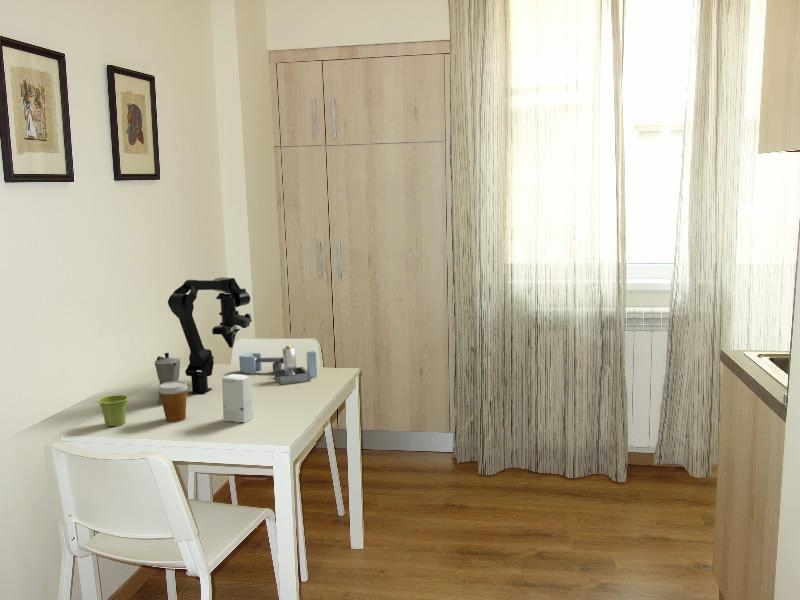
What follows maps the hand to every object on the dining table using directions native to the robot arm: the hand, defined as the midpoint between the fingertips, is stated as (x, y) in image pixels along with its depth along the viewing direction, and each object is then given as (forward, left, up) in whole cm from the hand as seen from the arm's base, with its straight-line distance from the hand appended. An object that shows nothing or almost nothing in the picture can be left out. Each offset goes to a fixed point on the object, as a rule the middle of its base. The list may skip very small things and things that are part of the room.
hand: (231, 347), depth 291 cm
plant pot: (-57, +15, -13) cm, 60 cm away
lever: (+12, -12, -9) cm, 19 cm away
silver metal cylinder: (+2, -24, -12) cm, 27 cm away
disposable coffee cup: (-50, -3, -13) cm, 52 cm away
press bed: (+3, -26, -13) cm, 29 cm away
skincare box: (-48, -25, -13) cm, 56 cm away
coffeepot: (-30, +11, -13) cm, 35 cm away
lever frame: (+12, -7, -13) cm, 19 cm away
